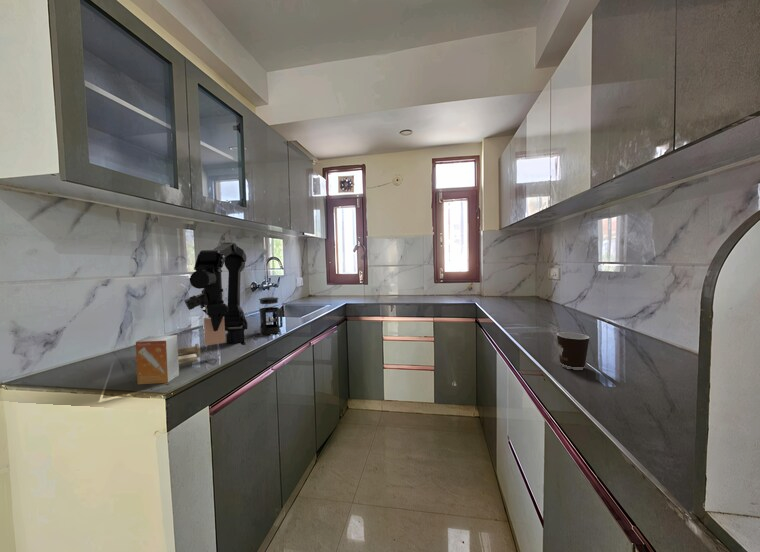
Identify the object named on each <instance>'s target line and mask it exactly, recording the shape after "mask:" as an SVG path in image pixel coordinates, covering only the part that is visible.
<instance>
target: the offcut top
mask: <svg viewBox="0 0 760 552" xmlns="http://www.w3.org/2000/svg"><path fill="white" fill-rule="evenodd" d="M197 359H198V356H197V354H196V353H189V354H183V355H178V363H179V364H181V365H183V364H182V363H186V364H189V363H188V362H192V363H194V362H193V361H197ZM197 362H198V361H197Z"/></svg>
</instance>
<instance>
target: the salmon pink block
mask: <svg viewBox="0 0 760 552" xmlns="http://www.w3.org/2000/svg"><path fill="white" fill-rule="evenodd" d="M203 331H204V334H203V335H204V337H203V338H204V345H205V346H211V345H218V344H224V343H225V344H226V340H225V334H226V331H225V323H224V317H223V319H222V321H221V323H220V326H219V328H218V330H217V331H214V330H213V326H212V322H211V318H209V317H204V318H203Z"/></svg>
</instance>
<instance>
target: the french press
mask: <svg viewBox="0 0 760 552" xmlns="http://www.w3.org/2000/svg"><path fill="white" fill-rule="evenodd" d="M263 287H264V288H266V289H267V292H268V297H267V296H266V297H261V298H258V300H259V303H260V305H268V306H267V307H261V308H259V311H258V312H259V314H260V315H259V317H260V318H259V319H260V326H259V335H260V334H261V335H260V336H271V335H270V334H274V335H276V334H275V333H278V332H280V333H281V330H280V329H281V328H283V309H282V308H279V307H277V306H271V307H270V305H271V304H272V305H273V304H274V305H275V304H278V302H279V299H280V298H279V297H274V296H270V288H272V287H274V286H273V285H265V286H263ZM271 313H272V318H271ZM267 314H268V318H267ZM271 323H272V324H271ZM278 334H279V333H278Z"/></svg>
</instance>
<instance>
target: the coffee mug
mask: <svg viewBox="0 0 760 552" xmlns="http://www.w3.org/2000/svg"><path fill="white" fill-rule="evenodd" d="M556 339H557V340H556V342H557V347H558V357H559V363H560V362H561V363H562V364H564V365H567V366H571V367H584V366H585V367H586V360H587V355H588V350H589V344H590V343H589V342H590V335H589V336H588V335H586V334H582V333H577V332H563V331H562V332H557V333H556Z"/></svg>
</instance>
